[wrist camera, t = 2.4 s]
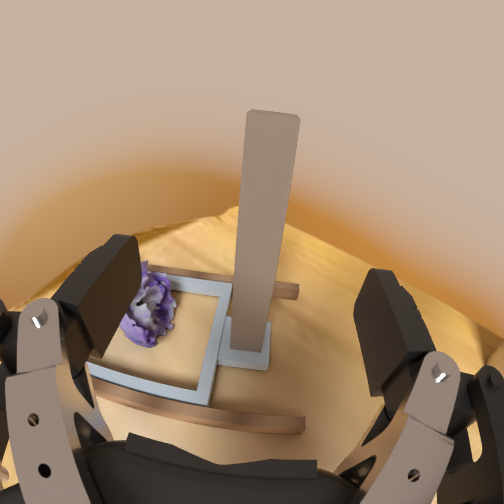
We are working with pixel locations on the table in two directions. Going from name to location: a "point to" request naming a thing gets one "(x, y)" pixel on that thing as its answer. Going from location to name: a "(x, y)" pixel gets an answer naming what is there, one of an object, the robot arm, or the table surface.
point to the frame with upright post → (240, 263)
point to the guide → (198, 412)
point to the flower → (149, 309)
